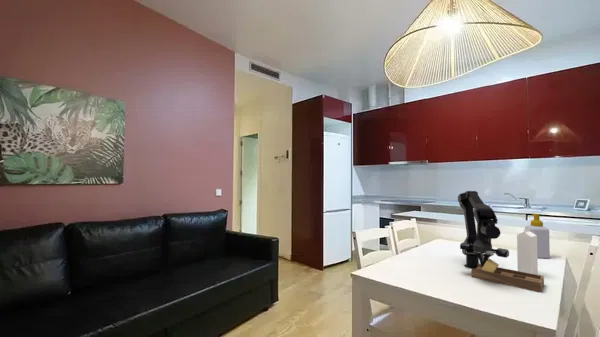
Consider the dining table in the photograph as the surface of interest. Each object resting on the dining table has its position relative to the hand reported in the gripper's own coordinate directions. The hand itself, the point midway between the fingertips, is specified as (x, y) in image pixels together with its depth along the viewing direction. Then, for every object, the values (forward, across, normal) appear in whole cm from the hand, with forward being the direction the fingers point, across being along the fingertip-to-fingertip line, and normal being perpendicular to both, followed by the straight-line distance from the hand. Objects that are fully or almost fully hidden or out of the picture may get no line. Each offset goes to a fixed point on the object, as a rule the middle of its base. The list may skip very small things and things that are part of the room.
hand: (483, 267), depth 132 cm
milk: (+4, +14, +22) cm, 26 cm away
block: (+1, +2, 0) cm, 2 cm away
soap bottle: (+3, +13, +65) cm, 66 cm away
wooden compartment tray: (+4, +8, +3) cm, 10 cm away
